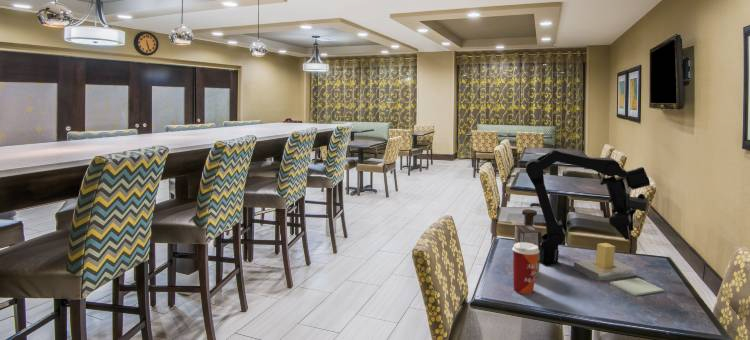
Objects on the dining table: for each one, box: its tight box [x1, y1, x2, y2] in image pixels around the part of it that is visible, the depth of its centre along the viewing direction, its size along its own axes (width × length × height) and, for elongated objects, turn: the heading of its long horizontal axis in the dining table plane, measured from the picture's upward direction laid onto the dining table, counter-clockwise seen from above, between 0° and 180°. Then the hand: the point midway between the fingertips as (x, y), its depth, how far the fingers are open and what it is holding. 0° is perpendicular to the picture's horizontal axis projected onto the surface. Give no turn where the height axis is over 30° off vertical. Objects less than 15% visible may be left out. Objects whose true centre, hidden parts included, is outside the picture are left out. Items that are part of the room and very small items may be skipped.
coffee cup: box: [511, 242, 540, 295], centre depth 154 cm, size 8×8×15 cm
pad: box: [609, 277, 664, 297], centre depth 158 cm, size 12×10×1 cm
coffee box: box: [513, 224, 542, 278], centre depth 169 cm, size 9×6×16 cm
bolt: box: [521, 208, 537, 227], centre depth 197 cm, size 6×5×15 cm
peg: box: [595, 242, 616, 269], centre depth 170 cm, size 4×4×10 cm
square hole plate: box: [573, 258, 637, 282], centre depth 171 cm, size 16×12×2 cm
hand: (629, 235), depth 170 cm, fingers open, 9 cm apart
